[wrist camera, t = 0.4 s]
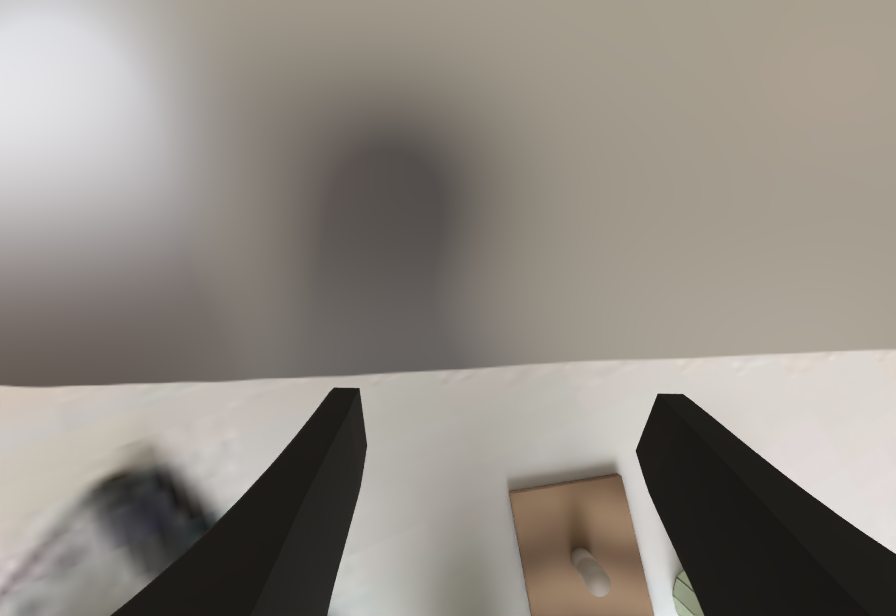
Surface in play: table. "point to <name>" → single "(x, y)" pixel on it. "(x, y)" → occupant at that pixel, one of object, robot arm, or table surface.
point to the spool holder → (580, 549)
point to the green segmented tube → (685, 597)
